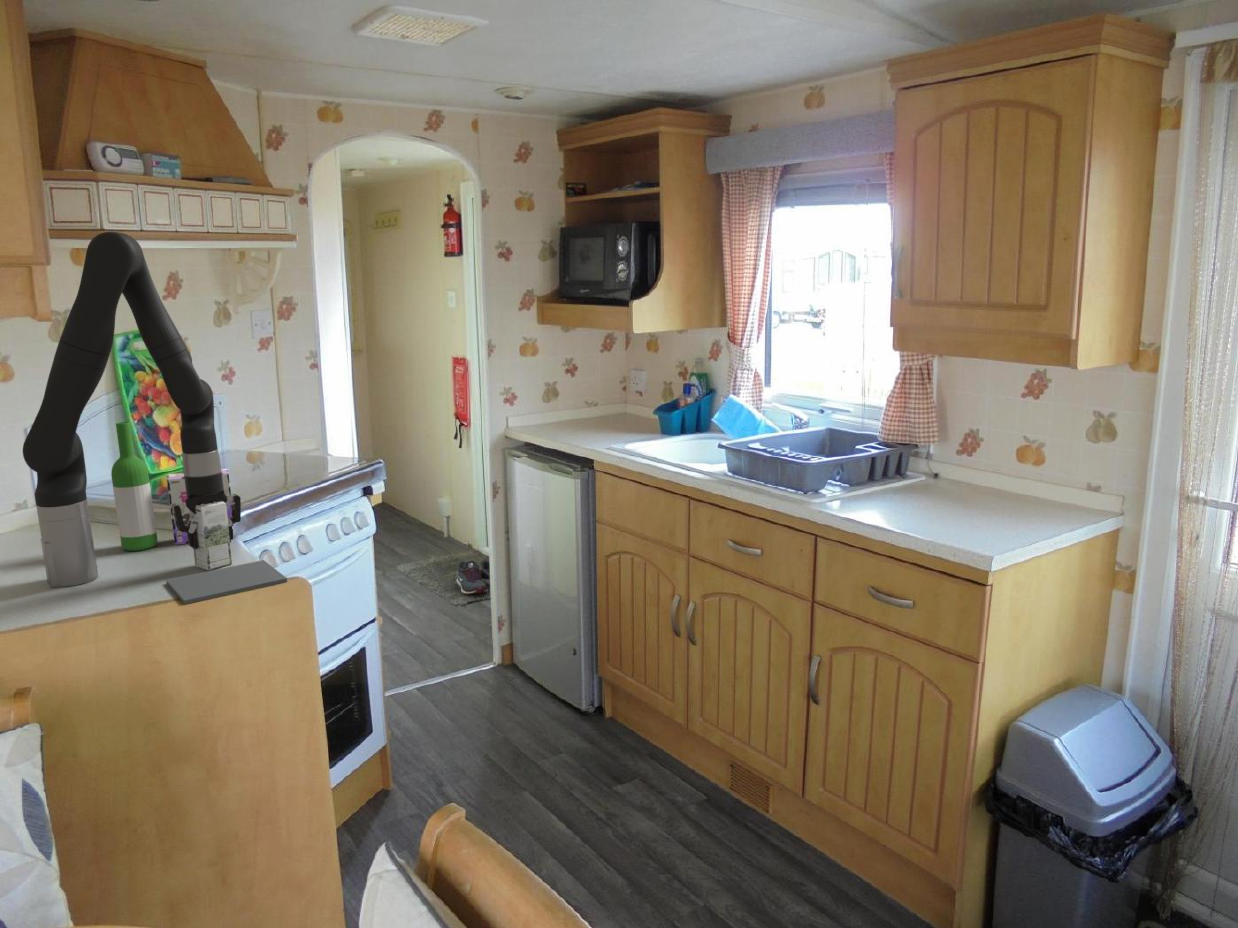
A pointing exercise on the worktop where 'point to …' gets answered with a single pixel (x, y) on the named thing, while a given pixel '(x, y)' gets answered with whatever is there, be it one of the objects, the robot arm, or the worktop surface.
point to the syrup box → (212, 536)
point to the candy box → (179, 496)
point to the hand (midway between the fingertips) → (211, 545)
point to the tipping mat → (225, 581)
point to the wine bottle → (132, 495)
